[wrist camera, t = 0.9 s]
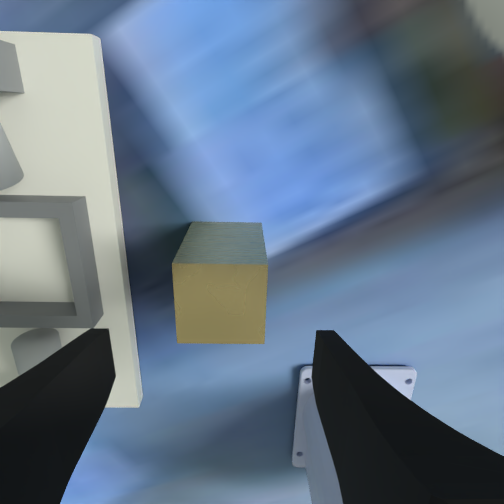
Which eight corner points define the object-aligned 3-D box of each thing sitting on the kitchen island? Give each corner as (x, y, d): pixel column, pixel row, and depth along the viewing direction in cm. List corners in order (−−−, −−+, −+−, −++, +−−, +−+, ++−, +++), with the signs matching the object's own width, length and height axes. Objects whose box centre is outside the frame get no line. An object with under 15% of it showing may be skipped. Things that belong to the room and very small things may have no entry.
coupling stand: (143, 396, 24) (116, 468, 19) (-1, 396, 24) (-65, 469, 19) (100, 38, 16) (36, 4, 11) (-116, 31, 16) (-278, -7, 11)
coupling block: (259, 284, 21) (264, 344, 16) (194, 283, 21) (177, 343, 16) (261, 222, 20) (267, 264, 14) (192, 221, 20) (171, 263, 14)
